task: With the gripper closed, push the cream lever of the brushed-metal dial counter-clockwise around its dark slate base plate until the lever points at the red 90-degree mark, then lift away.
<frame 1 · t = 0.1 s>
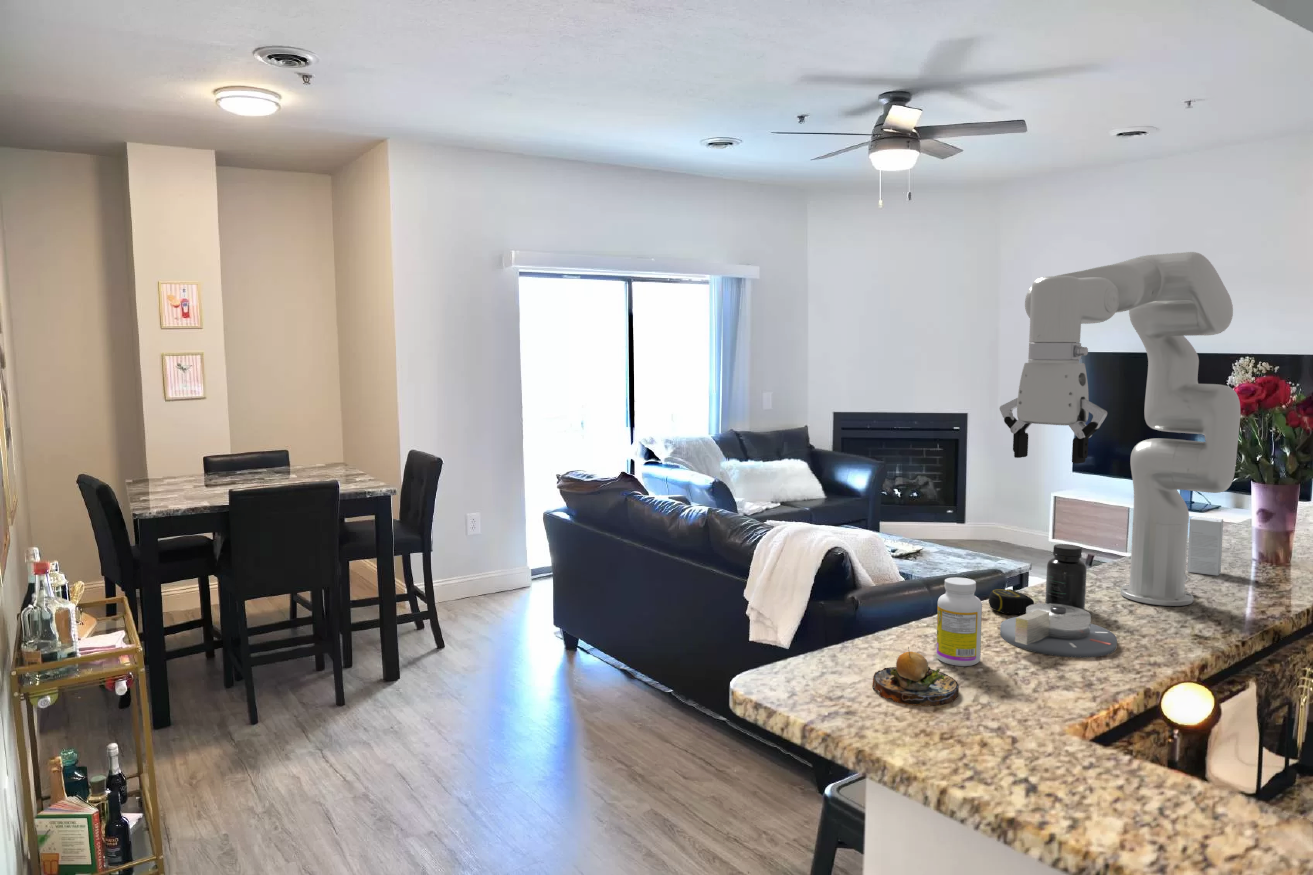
hand: (1048, 459, 146), 31 cm above the counter, fingers open, 9 cm apart
dial: (1047, 621, 150), point 4 cm above the counter, hinge at 0.0°
base plate: (1056, 639, 152), on the counter
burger: (914, 693, 130), on the counter
skincare box: (1203, 573, 198), on the counter
tape measure: (1010, 612, 169), on the counter
supplement bottle 2: (957, 661, 142), on the counter
supplement bottle: (1064, 609, 170), on the counter
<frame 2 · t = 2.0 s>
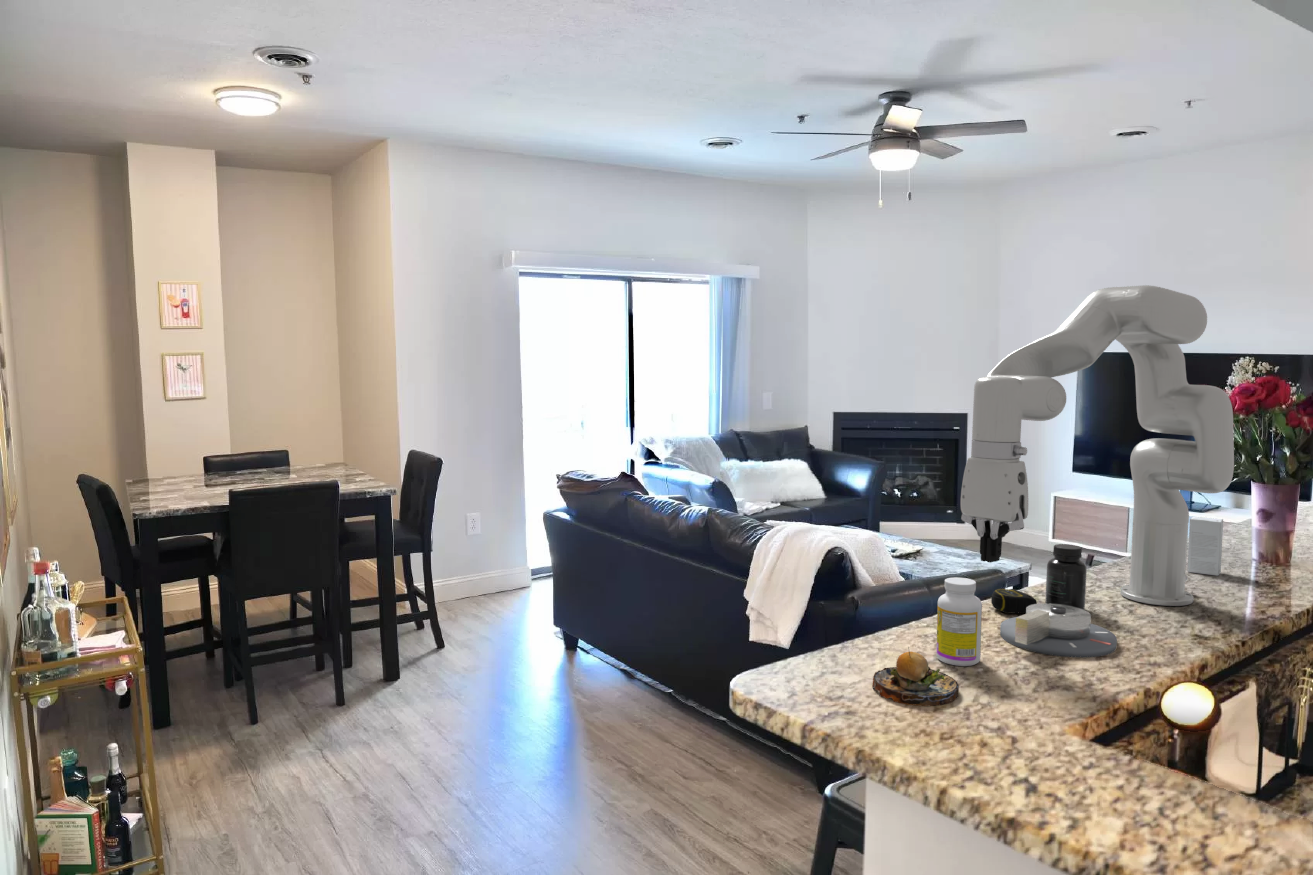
hand: (990, 560, 150), 14 cm above the counter, fingers closed
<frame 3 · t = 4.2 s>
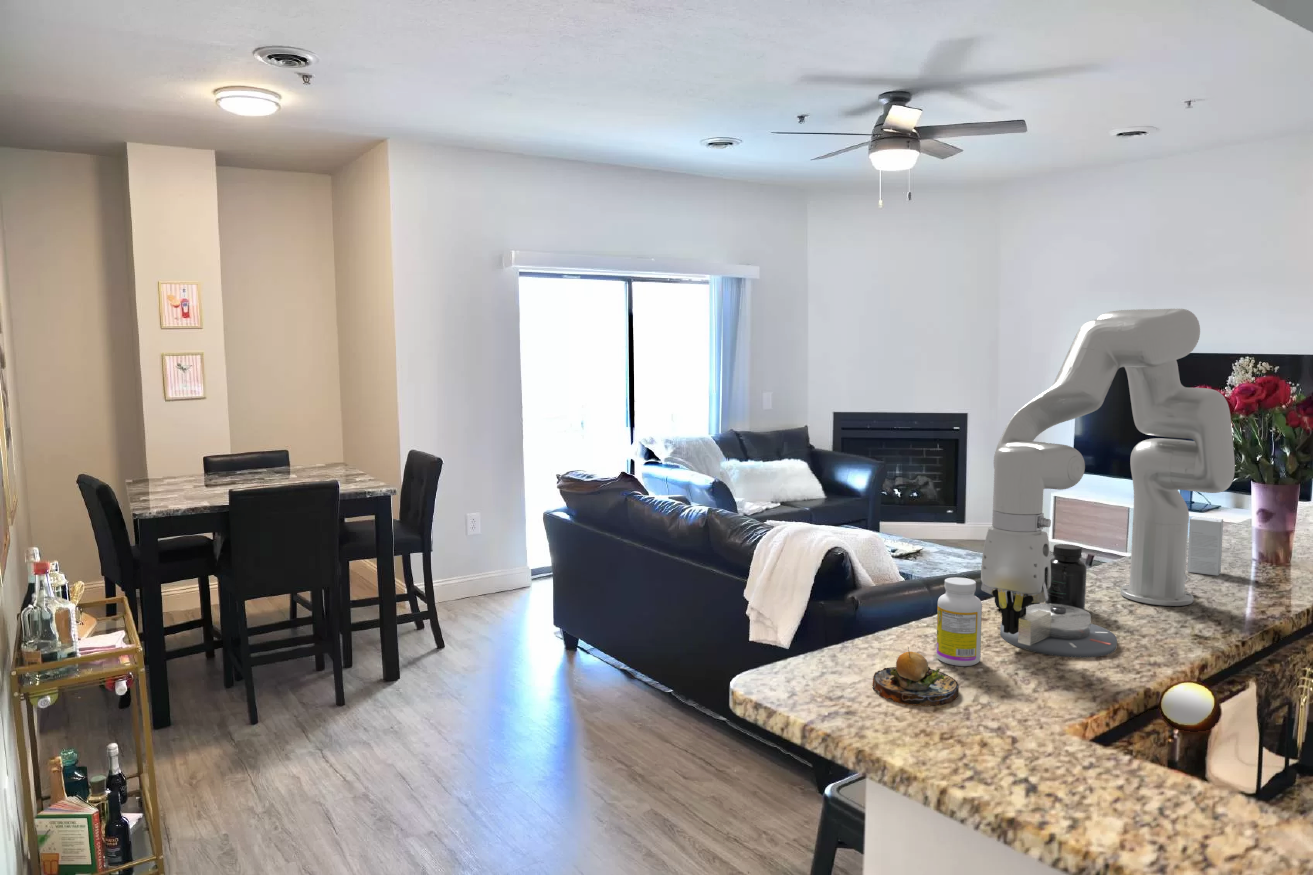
hand: (1012, 631, 148), 3 cm above the counter, fingers closed
dial: (1048, 621, 149), point 4 cm above the counter, hinge at 2.5°, touching gripper
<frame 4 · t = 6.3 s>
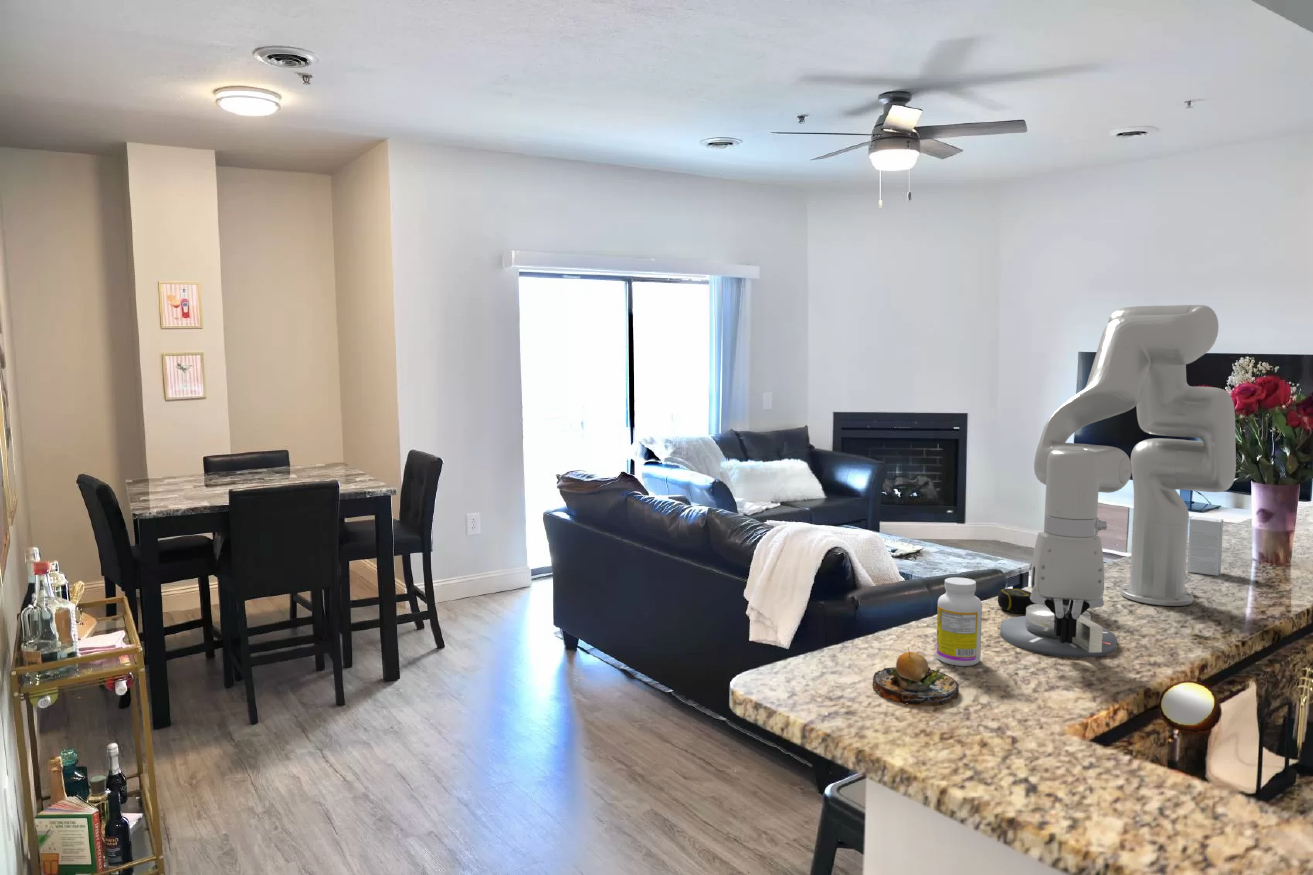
hand: (1064, 640, 143), 3 cm above the counter, fingers closed
dial: (1068, 623, 148), point 4 cm above the counter, hinge at 53.4°, touching gripper
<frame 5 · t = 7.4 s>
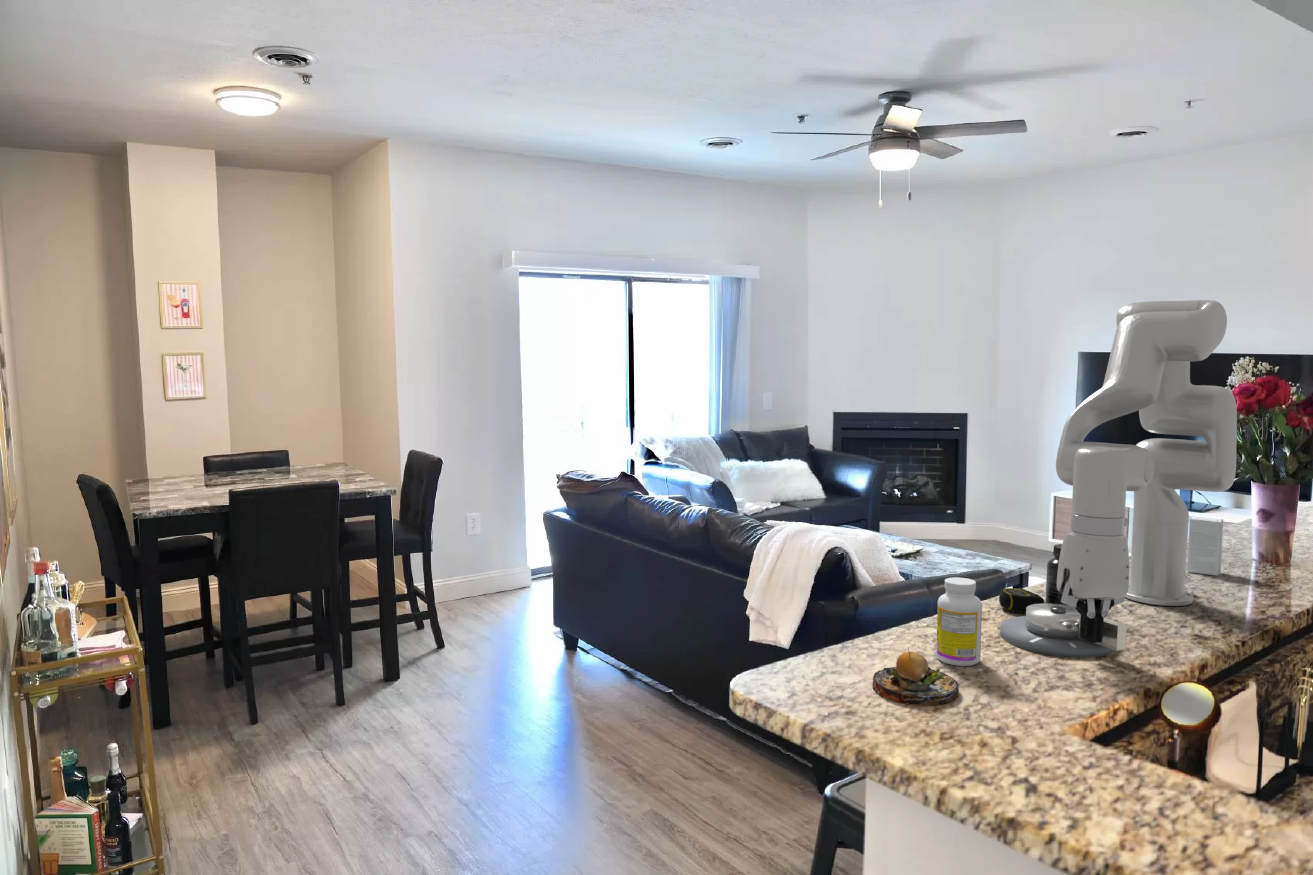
hand: (1090, 640, 142), 3 cm above the counter, fingers closed
dial: (1075, 622, 149), point 4 cm above the counter, hinge at 76.4°, touching gripper
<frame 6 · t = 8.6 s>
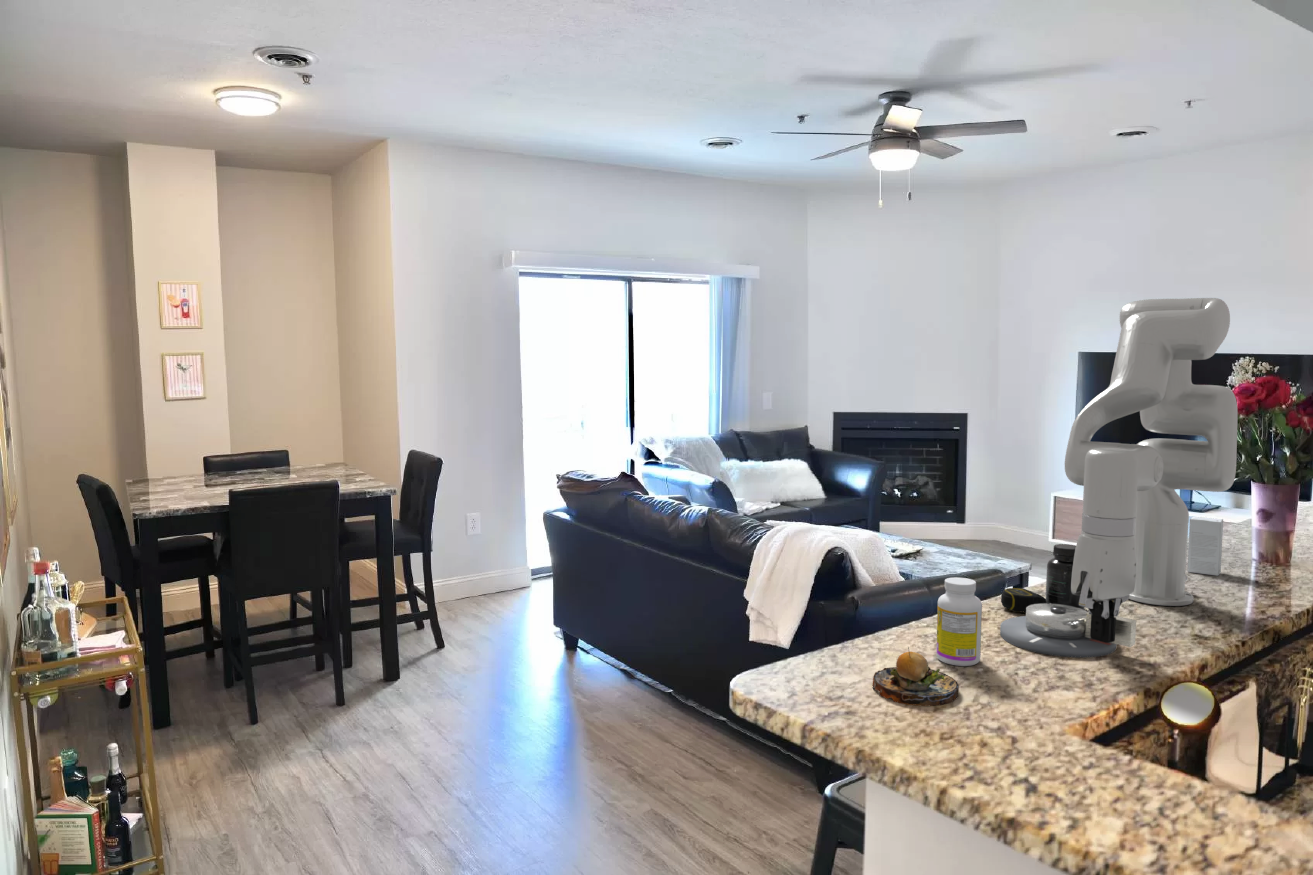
hand: (1102, 639, 143), 3 cm above the counter, fingers closed
dial: (1078, 621, 149), point 4 cm above the counter, hinge at 92.8°
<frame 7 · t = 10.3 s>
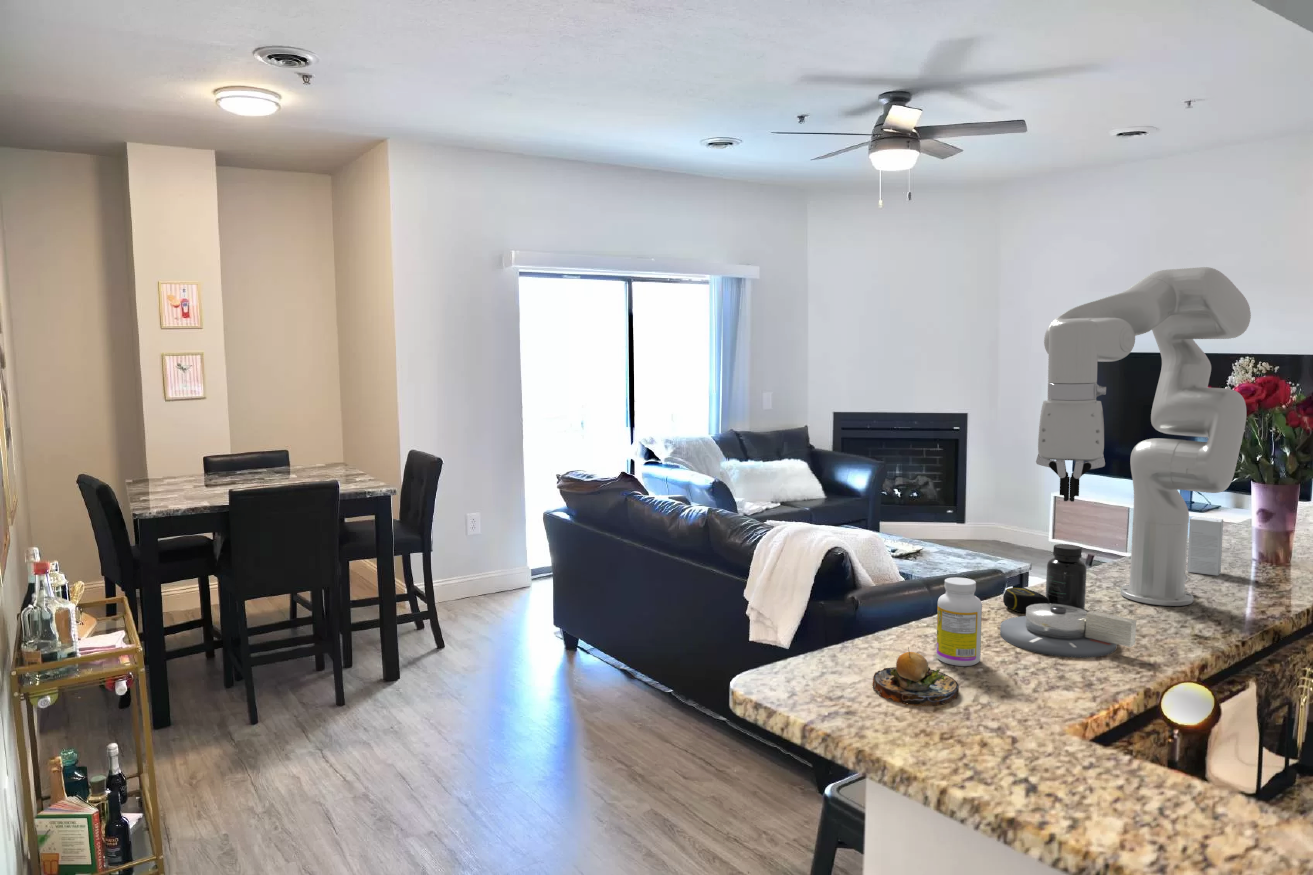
hand: (1069, 499, 154), 23 cm above the counter, fingers closed
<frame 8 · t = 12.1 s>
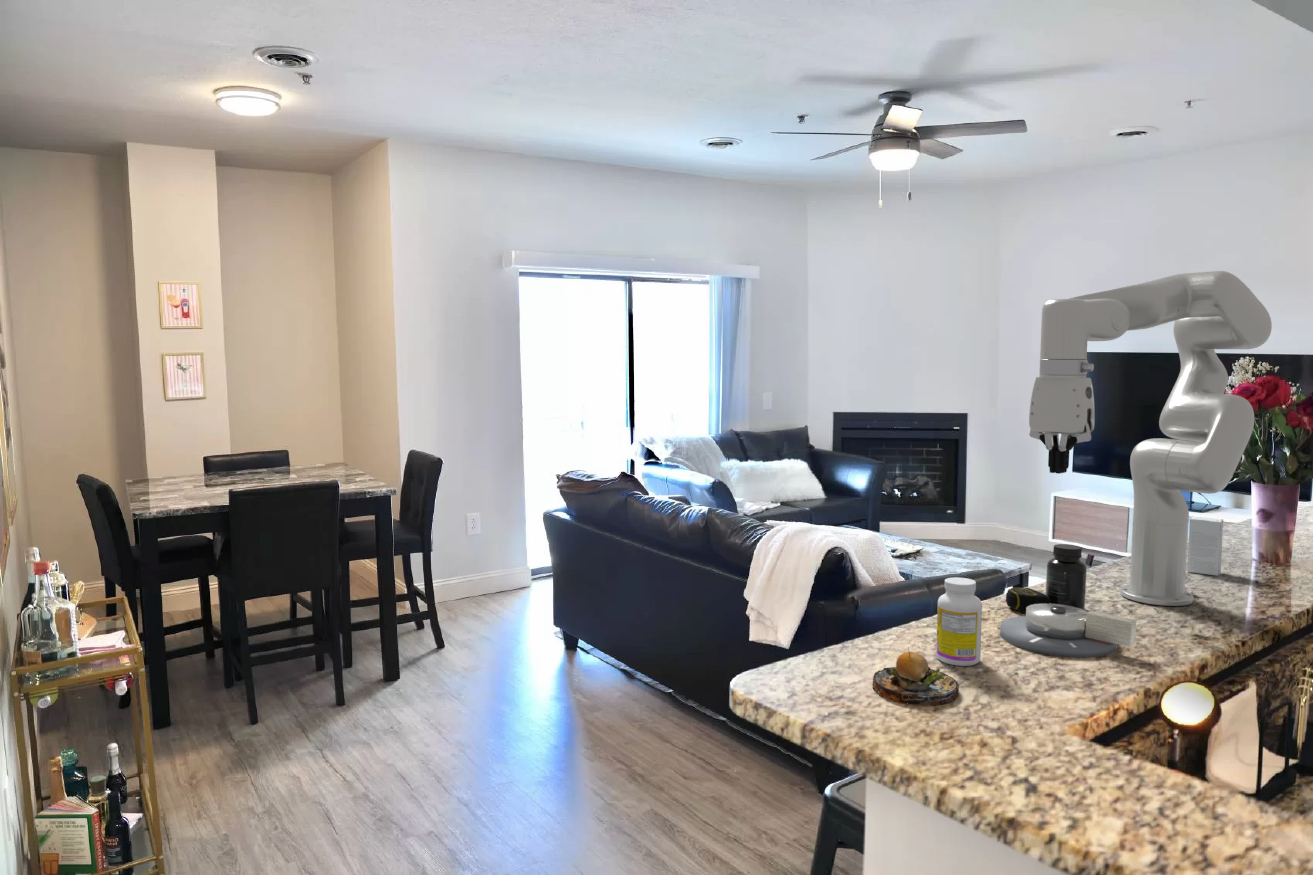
hand: (1058, 472, 160), 27 cm above the counter, fingers closed
at the end: dial at +93° (first picture: +0°) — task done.
